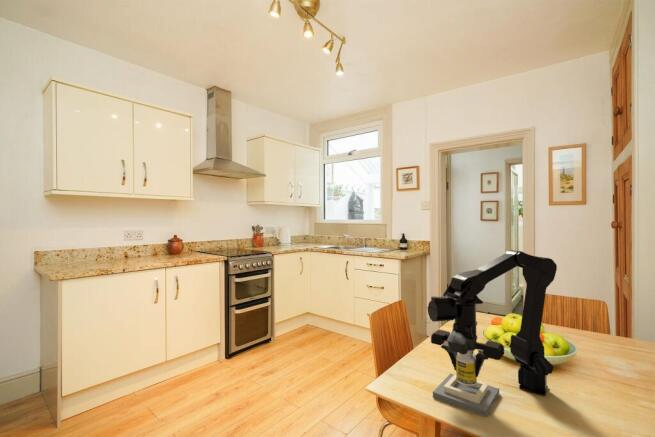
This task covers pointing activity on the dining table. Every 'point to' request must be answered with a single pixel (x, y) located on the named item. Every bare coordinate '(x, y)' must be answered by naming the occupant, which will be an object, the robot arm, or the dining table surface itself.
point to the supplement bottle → (466, 369)
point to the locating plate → (467, 395)
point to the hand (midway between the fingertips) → (466, 373)
